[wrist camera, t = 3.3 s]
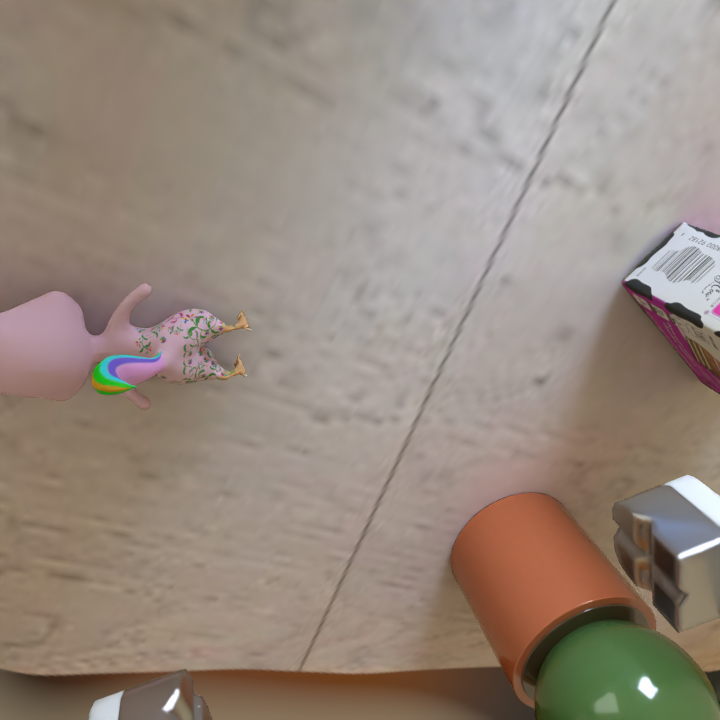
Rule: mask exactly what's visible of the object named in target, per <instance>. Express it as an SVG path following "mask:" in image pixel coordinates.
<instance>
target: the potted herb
mask: <svg viewBox="0 0 720 720" xmlns="http://www.w3.org/2000/svg"><path fill="white" fill-rule="evenodd" d="M451 569H452V572H453V575H454V577H455V579H456V581H457V583H458V584H459V586H460V588H461V590H462V592H463V594H464V596H465V598H466V600H467V602H468V604H469V606H470V607H471V609H472V611H473V613H474V615H475V617H476V619H477V621H478V623H479V625H480V627H481V629H482V630H483V632H484V634H485V636H486V638H487V640H488V642H489V644H490V646H491V648H492V650H493V652H494V653H495V655H496V657H497V659H498V661H499V663H500V665H501V667H502V669H503V671H504V673H505V675H506V676H507V678H508V680H509V682H510V684H511V686H512V688H513V690H514V692H515V693H516V695H517V697H518V698H519V699H520V700H521V701H522V702H523V703H525V704H526V705H528V706H530V707H532V708H535V717H536V720H720V701H719V699H718V697H717V694H716V692H715V690H714V688H713V686H712V685H711V683H710V681H709V679H708V678H707V676H706V674H705V673H704V672H703V670H702V669H701V668H700V666H699V665H698V664H697V663H696V662H695V661H694V659H693V658H692V657H691V656H690V655H689V654H688V653H687V652H686V651H685V650H684V649H682V648H681V647H680V646H679V645H678V644H676V643H675V642H674V641H672V640H671V639H669V638H668V637H666V636H665V635H663V634H661V633H660V632H658V631H656V620H655V616H654V614H653V612H652V610H651V608H650V607H649V606H648V605H647V604H646V603H645V601H644V600H643V599H642V598H641V597H640V595H639V594H638V593H637V592H636V591H635V590H634V588H633V587H632V586H631V585H630V584H629V582H628V581H627V580H626V579H625V578H624V577H623V575H622V574H621V573H620V572H619V571H618V570H617V568H616V567H615V566H614V565H613V564H612V562H611V561H610V560H609V559H608V558H607V557H606V555H605V554H604V553H603V552H602V551H601V549H600V548H599V547H598V546H597V545H596V544H595V542H594V541H593V540H592V539H591V538H590V537H589V535H588V534H587V533H586V532H585V531H584V529H583V528H582V527H581V526H580V525H579V524H578V522H577V521H576V520H575V519H574V518H573V516H572V515H571V514H570V513H569V512H568V511H567V509H566V508H565V507H564V506H563V505H562V504H561V503H560V502H559V501H558V500H556V499H555V498H553V497H551V496H548V495H545V494H540V493H521V494H516V495H512V496H509V497H505V498H503V499H501V500H498V501H496V502H494V503H492V504H491V505H489V506H487V507H486V508H484V509H483V510H481V511H480V512H479V513H478V514H476V515H475V516H474V517H473V518H472V519H471V520H470V521H469V522H468V523H467V524H466V525H465V527H464V528H463V529H462V531H461V532H460V534H459V535H458V537H457V539H456V541H455V543H454V546H453V549H452V554H451Z"/></svg>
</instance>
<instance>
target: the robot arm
mask: <svg viewBox="0 0 720 720" xmlns="http://www.w3.org/2000/svg"><path fill="white" fill-rule="evenodd" d="M612 517H613V520H614V521H615V522H616V523H617V524H618V525H619V528H618V530H617V532H616V533H615V535H614V547H615V552H616V554H617V557H618V559H619V562H620V564H621V566H622V568H623V569H624V571H625V572H626V574H627V575H628V576H629V578H630V579H631V580H632V581H633V582H634V583H635V585H636V586H639V587H641V588H644V589H646V590H649V591H652V599H653V605H654V606H655V607H656V608H657V610H658V611H659V612H660V613H661V614H662V615H663V616H664V617H665V619H666V620H667V621H668V622H669V623H670V624H671V625H672V626H673V628H674V629H675V630H676V631H677V632H678V633H681V632H683V631H686V630H689V629H691V628H694V627H696V626H699V625H702V624H704V623H707V622H710V621H712V620H715V619H717V618H720V496H718V495H717V494H716V493H714V492H713V491H712V490H711V489H709V488H708V487H707V486H705V485H704V484H703V483H702V482H700V481H699V480H698V479H696V478H695V477H693V476H690V475H686V476H683V477H680V478H678V479H675V480H673V481H670V482H668V483H665V484H663V485H659V486H656V487H654V488H651V489H649V490H646V491H644V492H641V493H639V494H636V495H634V496H631V497H629V498H626V499H624V500H621V501H619V502H616V503H615V504H614V506H613V508H612ZM193 686H194V685H193V680H192V678H191V676H190V675H189V673H188V672H187V670H186V669H184V670H179V671H177V672H174V673H171V674H168V675H165V676H163V677H160V678H157V679H154V680H151V681H148V682H146V683H143V684H140V685H137V686H134V687H132V688H129V689H126V690H124V691H121V692H118V693H116V694H113V695H111V696H107V697H105V698H102V699H99V700H97V701H95V702H94V704H93V706H92V708H91V710H90V712H89V718H88V720H212V716H211V714H210V711H209V708H208V706H207V704H206V702H205V700H204V699H203V697H201V696H198V695H195V694H194V687H193Z"/></svg>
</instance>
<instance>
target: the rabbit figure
mask: <svg viewBox="0 0 720 720" xmlns="http://www.w3.org/2000/svg"><path fill="white" fill-rule="evenodd" d="M150 293H151V287H150V285H148V284H146V283H144V284H141V285H139V286H138V287H137V288H136V289H135V290H134V291H133V292H131V293H130V294H129V295H128V296H127V297H126V298H125V299H124V300H123V301H122V302H121V304H120V305H119V306H118V308H117V309H116V311H115V312H114V314H113V315H112V317H111V318H110V320H109V323H108V325H107V327H106V329H105V331H104V332H103V333H102V334H100V335H91V334H90V333H89V332H88V331H87V330H86V328H85V322H84V316H83V312H82V310H81V308H80V306H79V305H78V304H77V303H76V302H75V301H74V300H73V299H72V298H71V297H69V296H68V295H67V294H65V293H63V292H60V291H52V292H49V293H47V294H44V295H42V296H40V297H38V298H36V299H33V300H31V301H29V302H26V303H24V304H22V305H20V306H17V307H15V308H13V309H11V310H8V311H5V312H1V313H0V394H3V393H4V394H10V395H15V396H21V397H43V398H47V399H51V400H56V401H64V400H67V399H69V398H70V397H72V396H73V395H74V394H75V393H76V392H77V391H78V390H79V389H80V388H81V387H82V385H83V384H84V382H85V379H86V377H87V374H88V372H89V369H90V367H91V366H92V364H94V363H99V364H98V365H97V366H96V368H95V369H94V371H93V373H92V384H93V387H94V388H95V389H96V391H97V392H99V393H100V394H104V395H113V394H119V393H123V394H124V395H125V396H126V397H127V398H128V399H129V400H131V401H132V402H133V403H134V404H135V405H137V406H138V407H139V408H141V409H143V410H147V409H148V408H149V407H150V405H151V402H150V400H149V399H148V398H147V397H145V396H143V395H141V394H140V393H139V392H138V391H137V390H136V389H135V387H136V386H133V385H135V384H138V383H141V382H143V381H146V380H148V379H149V378H151V377H153V376H154V375H157V376H158V377H159V378H161V379H163V380H165V381H167V382H170V383H174V384H187V383H192V382H197V381H203V380H211V379H220V380H227V379H228V378H230V377H231V376H235V375H238V374H240V375H243V376H244V377H248V376H246V375H245V374H244V373H245V369H244V367H243V365H242V362H241V360H240V359H239V357H240V356H241V354H240V355H238V357H237V359H238V360H237V361H235V362H234V365H235V369H234V370H232V371H226V370H224V369H223V368H222V367H221V366H220V365H219V364H218V362H217V361H216V359H215V357H214V355H213V354H212V352H211V351H210V350H209V349H208V348H207V347H206V346H205V344H206V343H208V342H209V341H211V340H213V339H214V338H216V337H218V336H220V335H222V334H223V333H225V332H226V333H227V332H230V331H232V330H235V329H240V328H241V329H242V328H244V329H246V330H248V331H252V330H251V329H249V328H248V327H249V324H248V323H247V320H246V317H245V314H243V313H242V312H244V311H245V310H242V311H240V314H239V315H238V317H237V318H238V319H237V320H238V324H236V325H226V324H224V323H223V322H221V321H220V320H219V319H217V318H216V317H214V316H213V315H212V314H211V313H209V312H208V311H206V310H202V309H187V310H184V311H181V312H178V313H176V314H174V315H172V316H170V317H169V318H167V319H165V320H164V321H162V322H161V323H159V324H157V325H155V326H153V327H150V328H139V327H136V326H133V325H131V324H130V322H129V318H130V314H131V312H132V310H133V308H134V307H135V305H136V304H137V303H138V302H140V301H141V300H143V299H145V298H146V297H148V296H149V295H150Z"/></svg>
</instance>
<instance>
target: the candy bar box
mask: <svg viewBox="0 0 720 720" xmlns="http://www.w3.org/2000/svg"><path fill="white" fill-rule="evenodd" d="M622 285H623V286H624V287H625V288H626V290H627V291H628V292H629V293H630V295H631V296H632V297H633V298H634V299H635V300H636V302H637V303H638V304H639V305H640V307H641V308H642V309H643V310H644V312H645V313H646V314H647V315H648V316H649V317H650V319H651V320H652V321H653V322H654V323H655V325H656V326H657V327H658V328H659V330H660V331H661V332H662V334H663V335H664V336H665V337H666V338H667V340H668V341H669V342H670V343H671V345H672V346H673V347H674V348H675V350H676V351H677V352H678V353H679V354H680V356H681V357H682V358H683V360H684V361H685V362H686V363H687V365H688V366H689V367H690V368H691V369H692V371H693V372H694V373H695V374H696V376H697V377H698V378H699V380H700V381H701V382H702V383H703V384H705V385H706V386H708V387H709V388H711V389H712V390H714V391H716V392H717V393H719V394H720V235H717V234H714V233H712V232H709V231H706V230H703V229H700V228H698V227H694V226H691V225H689V224H687V223H685V222H683V223H681V224H680V225H679V226H678V227H676V228H675V229H674V230H673V231H672V232H671V233H670V234H669V235H668V236H667V237H666V238H665V239H664V240H663V241H662V242H661V243H660V244H659V245H658V246H657V247H656V248H655V249H654V250H653V251H652V252H651V253H650V254H648V255H647V256H646V257H645V258H644V259H643V260H642V261H641V262H640V263H639V264H638V265H637V266H635V267H634V268H633V269H632V271H631V272H630V273H629V274H628V275H627V276H626V277H625V278H624V279H623V280H622Z"/></svg>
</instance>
